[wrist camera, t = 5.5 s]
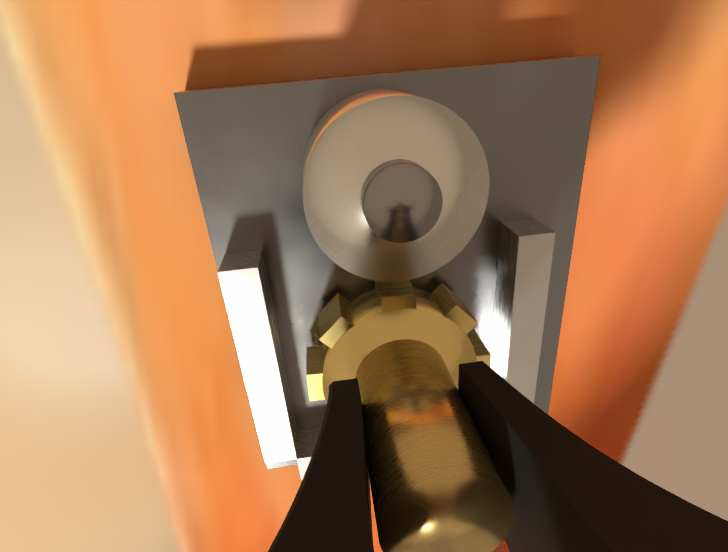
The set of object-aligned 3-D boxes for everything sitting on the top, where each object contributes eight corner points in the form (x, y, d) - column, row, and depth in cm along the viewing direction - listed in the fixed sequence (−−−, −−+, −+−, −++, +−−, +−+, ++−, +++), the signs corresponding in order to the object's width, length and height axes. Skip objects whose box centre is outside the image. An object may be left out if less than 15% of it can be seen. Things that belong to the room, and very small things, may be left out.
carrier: (533, 407, 17) (594, 500, 14) (269, 447, 17) (259, 555, 13) (578, 55, 12) (700, 53, 8) (184, 90, 11) (124, 104, 7)
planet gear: (468, 405, 15) (560, 590, 10) (315, 423, 14) (320, 629, 9) (477, 264, 13) (602, 400, 7) (298, 281, 12) (291, 439, 7)
